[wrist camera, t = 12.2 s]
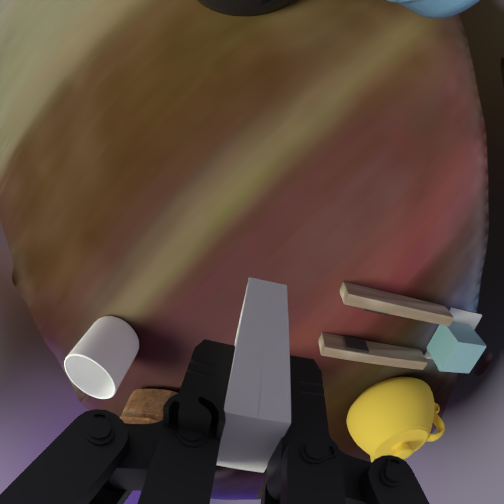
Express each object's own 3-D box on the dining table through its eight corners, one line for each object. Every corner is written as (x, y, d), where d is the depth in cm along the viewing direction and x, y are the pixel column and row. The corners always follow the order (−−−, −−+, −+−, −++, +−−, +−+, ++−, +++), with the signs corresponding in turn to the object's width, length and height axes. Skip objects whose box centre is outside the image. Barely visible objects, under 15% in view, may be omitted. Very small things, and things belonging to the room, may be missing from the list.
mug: (73, 318, 46) (40, 354, 36) (127, 311, 44) (96, 353, 34) (94, 357, 49) (68, 396, 39) (148, 354, 47) (125, 400, 37)
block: (442, 319, 41) (458, 341, 35) (470, 325, 41) (486, 346, 35) (426, 347, 43) (439, 371, 37) (454, 351, 43) (468, 373, 37)
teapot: (359, 370, 46) (376, 431, 34) (450, 367, 45) (477, 415, 33) (330, 439, 53) (336, 490, 41) (411, 433, 52) (425, 478, 40)
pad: (451, 307, 40) (451, 307, 40) (481, 314, 41) (482, 315, 40) (422, 357, 44) (423, 357, 44) (454, 360, 44) (454, 361, 44)
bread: (186, 381, 49) (165, 447, 35) (220, 462, 58) (211, 513, 45) (126, 378, 50) (96, 436, 37) (171, 458, 60) (158, 506, 46)
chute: (343, 281, 40) (348, 293, 37) (444, 305, 40) (454, 317, 37) (318, 340, 44) (321, 355, 40) (416, 356, 44) (423, 369, 41)
